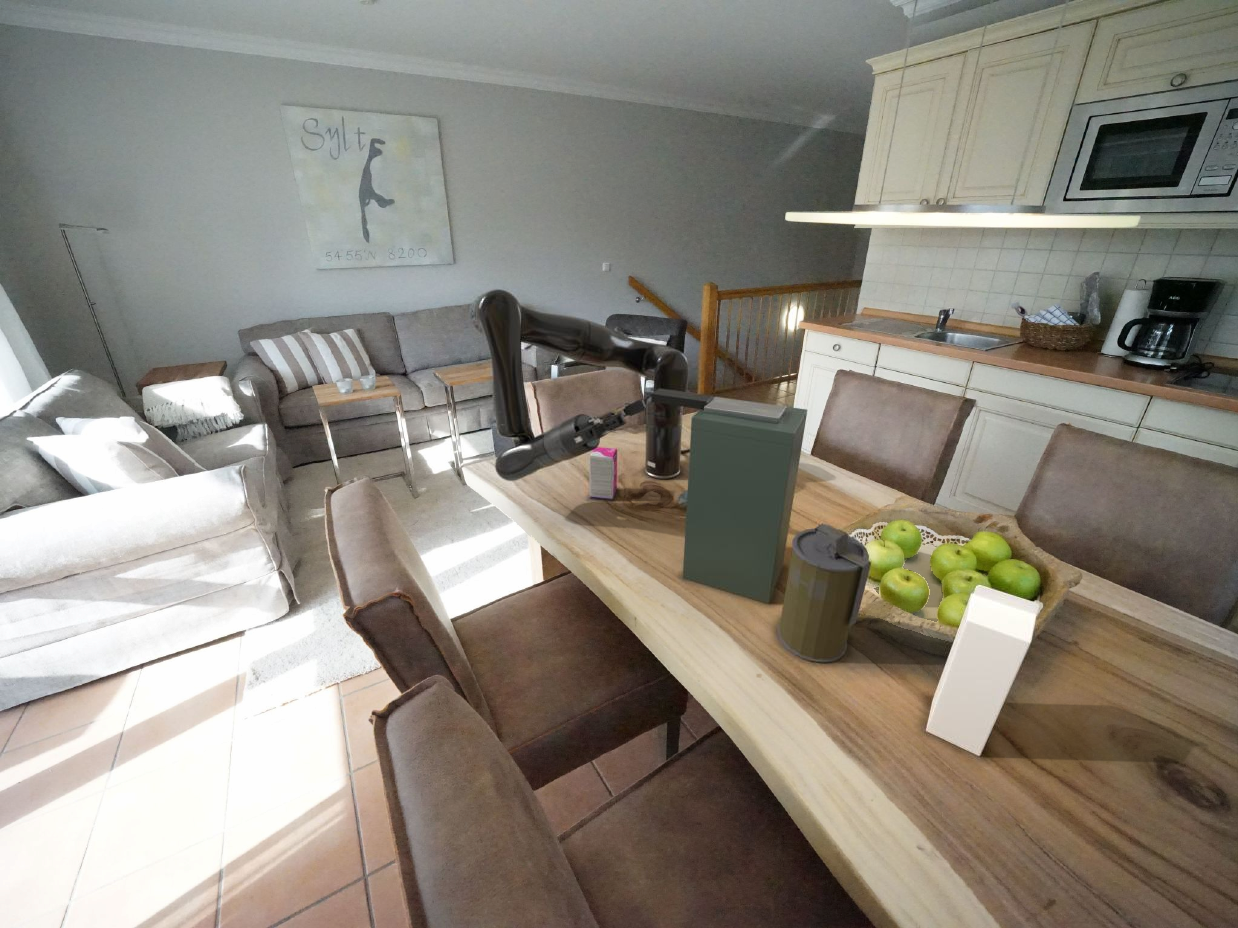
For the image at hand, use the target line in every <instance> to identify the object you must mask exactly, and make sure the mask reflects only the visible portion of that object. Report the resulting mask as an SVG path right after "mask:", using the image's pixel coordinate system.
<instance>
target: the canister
mask: <svg viewBox="0 0 1238 928" xmlns="http://www.w3.org/2000/svg"><path fill="white" fill-rule="evenodd" d="M791 541H792V542H791V546H792V552H791V558H790V563H789V568H788V575H787V581H786V586H785V592H784V597H783V604H782V608H781V609H782V610H781V615H780V620H779V623H778V626H777V635H778V638H779V640H780V642H781V644H782V645H783V646H784V648H786V649H787V650H788V651H789V652H791V653H792V654H793V655H795V656H797V657H798V658H801V659H804V660H806V661H809V662H815V663H832V662H835V661H837V660H839V659H841V658H842V657H843V656H844V655H845V654H846V651H847V649H848V648H847V647H848V643H847V640H848V638H849V633H850V629H851V627H852V626H854V625H855V624H857V621H858V617H859V613H860V610H861V605H862V601H863V597H864V593H865V589H866V585H867V581H868V577H869V575H870V574H869V573H870V569H871V566H872V562H871V561H870V560H869V559H870V555H869V551H868V548H867V547H866V546H865V545H864V544H863V543H861V541H859V540H858V539H857V538H855V537H853V536H851V535H849V534H848V533H847V531H844V530H842V529H840V528H836V527H834V526H832V525H829V524H827V523H821V524H818V525H817V526H816V527H814V528H809V529H804V530H802V531H799V532H798V533H796V534H795V535H794V536H793V538H792V540H791Z"/></svg>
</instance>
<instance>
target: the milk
mask: <svg viewBox="0 0 1238 928" xmlns="http://www.w3.org/2000/svg"><path fill="white" fill-rule="evenodd" d="M1040 608H1041V604H1040V603H1038V602H1035V601H1032V600H1029V599H1026V598H1022V597H1019V596H1016V595H1014V594H1010V593H1007V592H1004V591H1002V590H1001V591H1000V590H998V589H994V588H991V587H988V586H985V585H982V584H978V585H976V587H975V589H974V590H973V592H971V593H970V596H969V599H968V601H967V604H966V606H965V610H964V612H963V615H962V618H961V621H960V623H959V627H958V629H957V632H956V635H955V637H954V640H953V643H952V645H951V648H950V651H949V654H948V656H947V659H946V662H945V665H944V668H943V669H942V673H941V675H940V678H939V681H938V683H937V684H938V685H937V687H936V690H935V692H934V695H933V698H932V700H931V701H932V702H931V706H930V709H929V710H930V711H929V715H928V720H927V724H926V729H925V731H926V732H927V733H929V734H931V735H933V736H935V737H937V738H939V739H942V740H943V741H946V742H948V743H950V744H952V745H955V746H957V747H958V748H961V749H963V750H965V751H967V752H970V753H972V754H973V755H975V756H978V757H980V756H981V755H982V752H983V751H984V748H985V746H986V744H987V742H988V739H989V737H990V735H991V733H992V731H993V728H994V727H995V724H996V721H997V719H998V717H999V715H1000V712H1001V710H1002V708H1003V706H1004V704H1005V702H1006V700H1007V697H1008V695H1009V693H1010V690H1011V688H1012V685H1013V683H1014V682H1015V680H1016V677H1017V675H1018V672H1019V670H1020V669H1021V666H1022V664H1023V662H1024V659H1025V657H1026V655H1027V653H1028V650H1029V648H1030V646H1031V644H1032V640H1033V635H1034V631H1035V625H1036V621H1037V617H1038V614H1039V611H1040Z"/></svg>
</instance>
